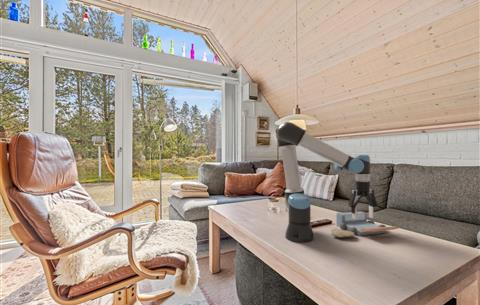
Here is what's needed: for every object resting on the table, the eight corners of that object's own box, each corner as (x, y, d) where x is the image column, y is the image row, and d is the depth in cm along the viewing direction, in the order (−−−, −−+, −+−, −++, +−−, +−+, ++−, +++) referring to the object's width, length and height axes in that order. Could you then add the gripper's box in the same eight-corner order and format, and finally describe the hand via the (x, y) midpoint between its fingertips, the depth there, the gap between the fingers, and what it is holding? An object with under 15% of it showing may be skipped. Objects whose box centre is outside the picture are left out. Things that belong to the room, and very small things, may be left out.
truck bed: (357, 237, 126) (357, 222, 126) (334, 226, 146) (334, 213, 146) (389, 234, 131) (389, 219, 131) (363, 223, 151) (363, 211, 151)
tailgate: (360, 231, 127) (371, 231, 119) (360, 229, 127) (371, 229, 120) (386, 229, 130) (398, 229, 123) (385, 226, 131) (397, 226, 123)
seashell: (352, 232, 131) (351, 227, 131) (357, 240, 119) (356, 235, 119) (330, 232, 134) (329, 227, 134) (333, 240, 122) (332, 235, 122)
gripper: (350, 182, 130) (350, 221, 130) (384, 181, 136) (384, 218, 135) (341, 180, 137) (341, 217, 137) (374, 179, 143) (374, 215, 143)
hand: (362, 218), depth 136 cm, fingers open, 11 cm apart
